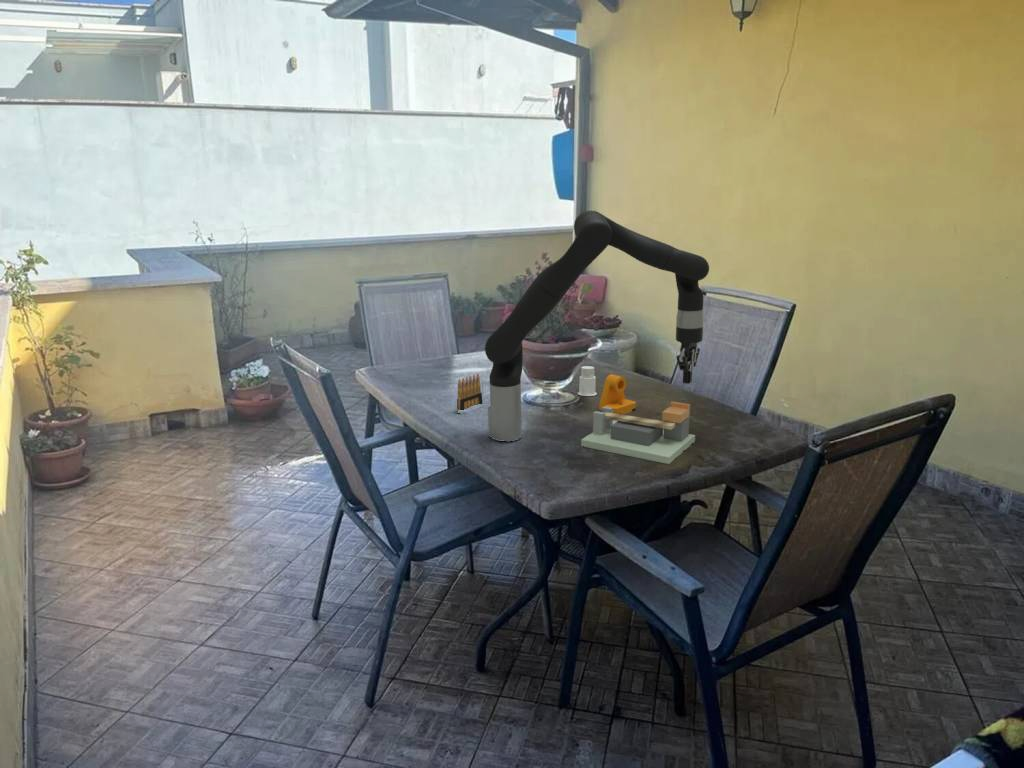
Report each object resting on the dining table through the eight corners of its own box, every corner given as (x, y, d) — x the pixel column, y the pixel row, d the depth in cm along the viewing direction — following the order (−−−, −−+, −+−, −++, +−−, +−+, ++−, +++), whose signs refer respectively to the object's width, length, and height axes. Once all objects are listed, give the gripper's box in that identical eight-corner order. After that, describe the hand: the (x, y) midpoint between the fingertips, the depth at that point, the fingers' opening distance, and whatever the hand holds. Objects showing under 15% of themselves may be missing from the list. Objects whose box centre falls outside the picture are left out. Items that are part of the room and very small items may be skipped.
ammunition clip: (461, 414, 239) (459, 380, 236) (457, 413, 241) (455, 379, 237) (482, 406, 247) (481, 373, 244) (478, 405, 248) (477, 372, 245)
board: (581, 446, 209) (581, 418, 206) (611, 426, 225) (612, 400, 222) (668, 464, 194) (670, 434, 192) (694, 441, 210) (696, 414, 208)
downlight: (591, 398, 253) (592, 370, 251) (573, 395, 257) (574, 368, 254) (600, 393, 260) (601, 366, 258) (582, 390, 263) (583, 364, 261)
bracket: (615, 417, 233) (616, 381, 230) (599, 412, 239) (599, 377, 235) (637, 409, 240) (637, 375, 237) (620, 405, 245) (621, 371, 242)
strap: (598, 418, 213) (598, 413, 213) (603, 415, 215) (603, 410, 215) (671, 430, 201) (671, 425, 200) (675, 427, 203) (675, 422, 203)
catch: (662, 420, 205) (662, 407, 204) (671, 413, 210) (671, 401, 209) (680, 423, 202) (681, 410, 201) (689, 416, 207) (689, 404, 206)
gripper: (694, 330, 198) (691, 390, 203) (710, 321, 208) (707, 379, 213) (668, 327, 202) (666, 386, 207) (685, 319, 212) (683, 375, 217)
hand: (687, 382), depth 210 cm, fingers closed
